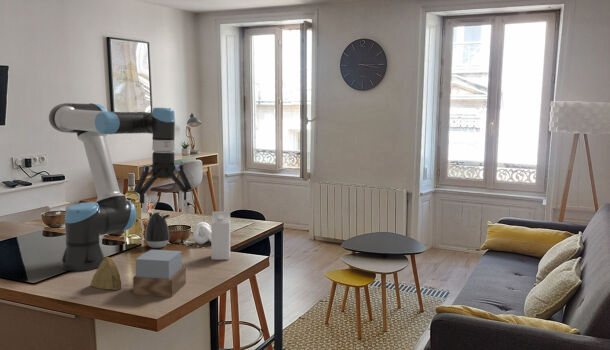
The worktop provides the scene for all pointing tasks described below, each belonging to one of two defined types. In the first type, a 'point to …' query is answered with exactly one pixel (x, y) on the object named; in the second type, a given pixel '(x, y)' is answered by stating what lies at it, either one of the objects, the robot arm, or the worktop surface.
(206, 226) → the white spiral shell
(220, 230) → the milk carton
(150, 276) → the top block
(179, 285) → the bottom block
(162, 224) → the pump dispenser
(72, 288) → the worktop surface
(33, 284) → the worktop surface
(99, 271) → the rock
